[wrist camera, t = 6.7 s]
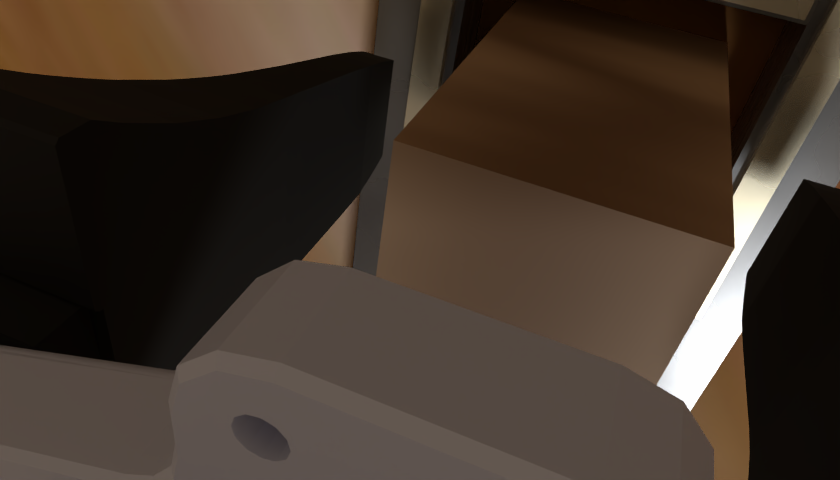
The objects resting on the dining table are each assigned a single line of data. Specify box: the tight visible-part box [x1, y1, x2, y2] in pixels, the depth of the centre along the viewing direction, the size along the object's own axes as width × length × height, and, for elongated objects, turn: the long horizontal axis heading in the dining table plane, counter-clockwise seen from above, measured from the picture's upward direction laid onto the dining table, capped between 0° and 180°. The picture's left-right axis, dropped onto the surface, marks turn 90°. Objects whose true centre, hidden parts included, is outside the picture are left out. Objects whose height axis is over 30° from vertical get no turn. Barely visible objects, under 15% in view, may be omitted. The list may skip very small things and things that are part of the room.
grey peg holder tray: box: [353, 0, 840, 411], centre depth 16 cm, size 9×20×2 cm, turn 172°
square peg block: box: [376, 0, 735, 385], centre depth 11 cm, size 4×4×7 cm
